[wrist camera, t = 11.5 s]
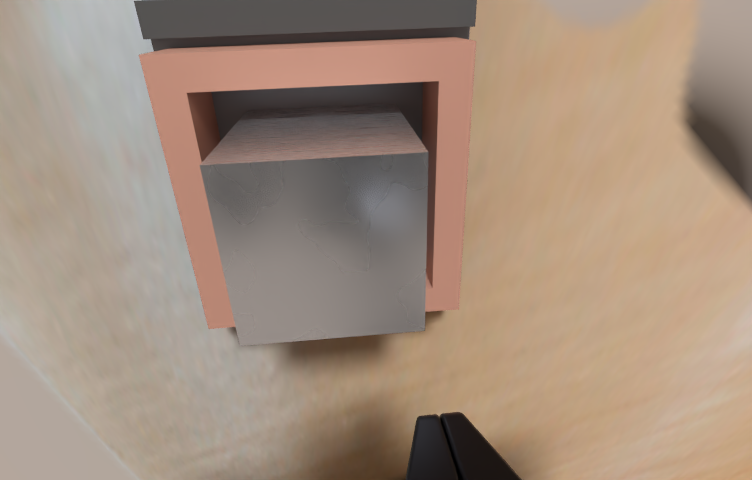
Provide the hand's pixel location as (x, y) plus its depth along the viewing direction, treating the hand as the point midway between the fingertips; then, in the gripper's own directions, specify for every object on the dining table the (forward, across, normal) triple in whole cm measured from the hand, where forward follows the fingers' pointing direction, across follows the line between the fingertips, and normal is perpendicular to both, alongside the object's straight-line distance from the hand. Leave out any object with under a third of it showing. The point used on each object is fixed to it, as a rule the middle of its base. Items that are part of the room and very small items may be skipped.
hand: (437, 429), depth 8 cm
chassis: (+11, +2, -2) cm, 12 cm away
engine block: (+10, +2, -2) cm, 10 cm away
